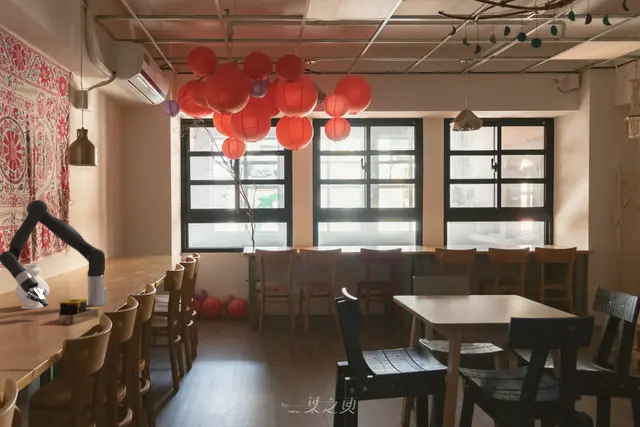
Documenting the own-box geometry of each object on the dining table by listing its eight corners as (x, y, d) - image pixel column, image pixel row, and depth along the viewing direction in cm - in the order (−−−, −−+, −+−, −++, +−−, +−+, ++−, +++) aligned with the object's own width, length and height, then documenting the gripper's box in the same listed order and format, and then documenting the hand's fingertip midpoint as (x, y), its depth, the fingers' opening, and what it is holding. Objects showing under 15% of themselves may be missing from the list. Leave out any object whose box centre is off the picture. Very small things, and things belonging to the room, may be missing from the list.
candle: (58, 321, 291) (58, 302, 290) (68, 317, 301) (67, 298, 301) (78, 321, 290) (78, 302, 290) (87, 317, 301) (86, 298, 300)
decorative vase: (41, 302, 344) (40, 261, 344) (55, 306, 333) (54, 263, 332) (10, 307, 331) (9, 264, 330) (23, 311, 319) (22, 266, 319)
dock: (59, 323, 286) (59, 315, 286) (84, 315, 305) (84, 308, 304) (74, 324, 284) (74, 316, 284) (98, 316, 302) (98, 309, 302)
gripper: (21, 278, 295) (41, 303, 292) (39, 275, 308) (59, 298, 305) (13, 288, 297) (33, 312, 294) (32, 284, 309) (51, 307, 306)
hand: (46, 305), depth 299 cm, fingers closed
